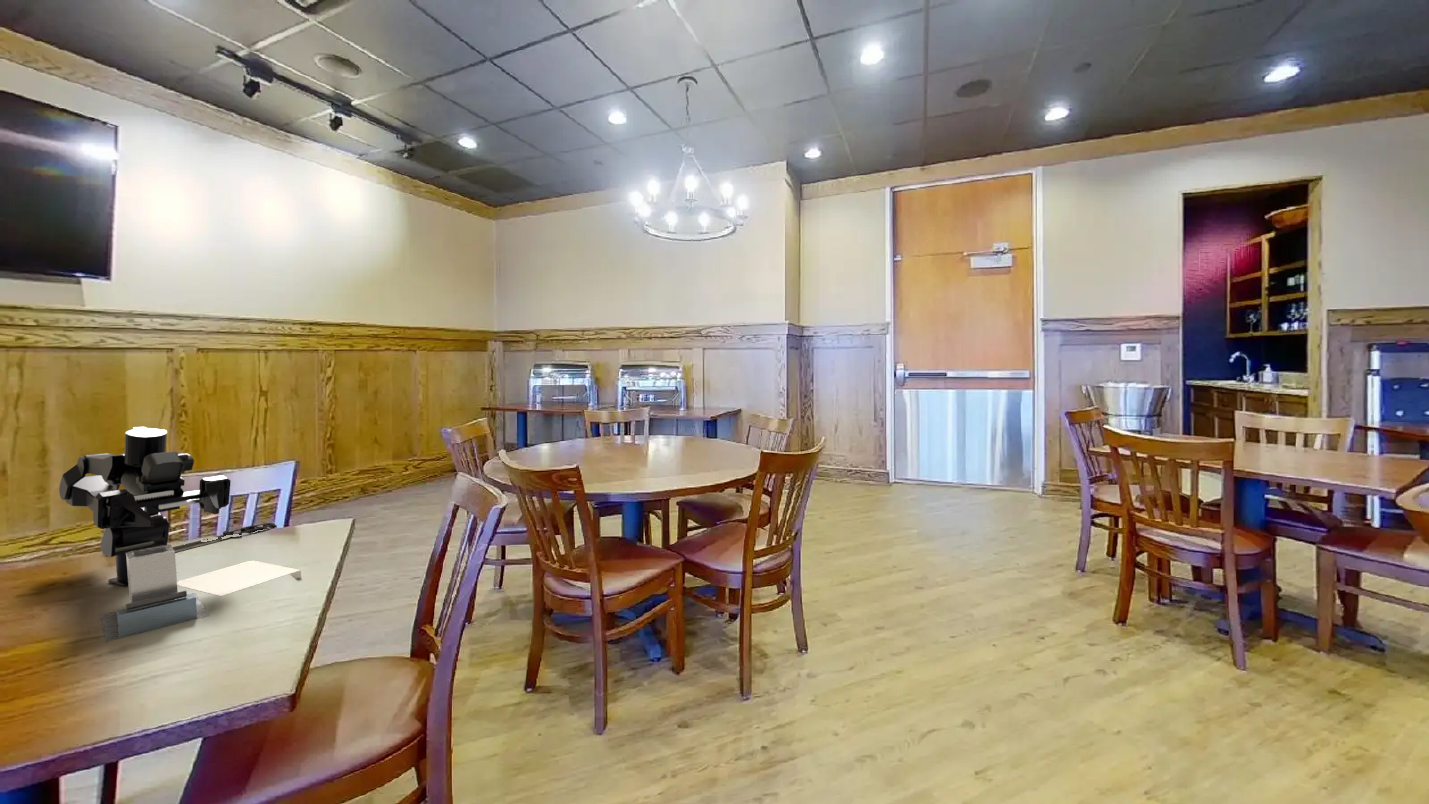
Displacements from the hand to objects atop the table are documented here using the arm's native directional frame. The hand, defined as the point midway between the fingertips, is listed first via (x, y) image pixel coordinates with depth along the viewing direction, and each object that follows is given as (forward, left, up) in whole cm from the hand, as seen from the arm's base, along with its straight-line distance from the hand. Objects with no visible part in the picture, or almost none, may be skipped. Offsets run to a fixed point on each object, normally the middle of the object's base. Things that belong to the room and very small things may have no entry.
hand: (186, 517), depth 103 cm
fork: (-55, +18, -17) cm, 60 cm away
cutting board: (-3, +9, -16) cm, 19 cm away
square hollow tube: (+4, -7, -15) cm, 17 cm away
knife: (-40, +25, -17) cm, 50 cm away
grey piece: (+4, -7, -16) cm, 18 cm away
